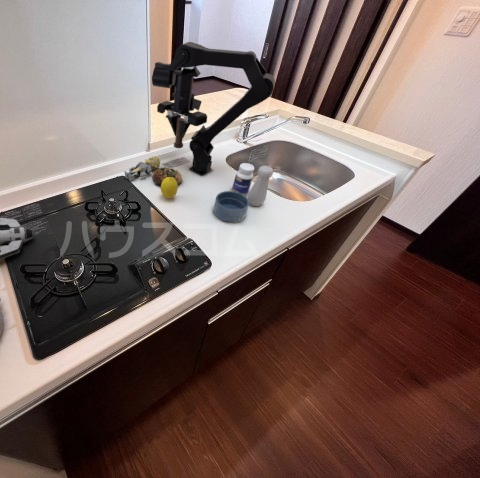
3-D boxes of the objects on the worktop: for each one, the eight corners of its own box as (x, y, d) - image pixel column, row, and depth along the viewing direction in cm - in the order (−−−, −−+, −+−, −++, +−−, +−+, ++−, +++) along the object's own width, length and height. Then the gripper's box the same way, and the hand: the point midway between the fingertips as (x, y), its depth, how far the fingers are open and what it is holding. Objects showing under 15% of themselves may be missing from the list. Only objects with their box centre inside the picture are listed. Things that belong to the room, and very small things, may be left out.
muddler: (171, 146, 98) (173, 118, 91) (177, 143, 100) (180, 116, 93) (178, 149, 97) (181, 121, 90) (185, 146, 99) (187, 119, 92)
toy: (119, 167, 94) (149, 151, 101) (122, 179, 98) (151, 163, 104) (133, 173, 90) (164, 156, 96) (136, 186, 93) (165, 168, 100)
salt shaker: (263, 209, 85) (277, 174, 75) (246, 206, 85) (257, 171, 76) (262, 199, 89) (275, 164, 80) (245, 196, 89) (256, 162, 80)
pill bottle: (229, 194, 90) (236, 168, 83) (233, 186, 94) (239, 160, 87) (246, 198, 89) (254, 172, 82) (248, 189, 93) (257, 164, 86)
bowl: (207, 212, 82) (209, 199, 79) (224, 200, 88) (227, 187, 84) (233, 227, 78) (237, 214, 74) (250, 213, 83) (255, 200, 79)
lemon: (179, 195, 88) (181, 175, 83) (172, 204, 85) (174, 183, 79) (164, 191, 90) (165, 171, 84) (157, 200, 86) (158, 179, 81)
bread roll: (149, 185, 92) (150, 172, 88) (154, 173, 100) (156, 161, 97) (180, 190, 91) (182, 177, 88) (183, 178, 100) (185, 165, 97)
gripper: (220, 92, 85) (212, 139, 96) (178, 80, 94) (174, 124, 105) (200, 99, 79) (193, 148, 90) (156, 85, 88) (155, 131, 99)
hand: (179, 137), depth 96 cm, fingers closed on muddler, 2 cm apart
